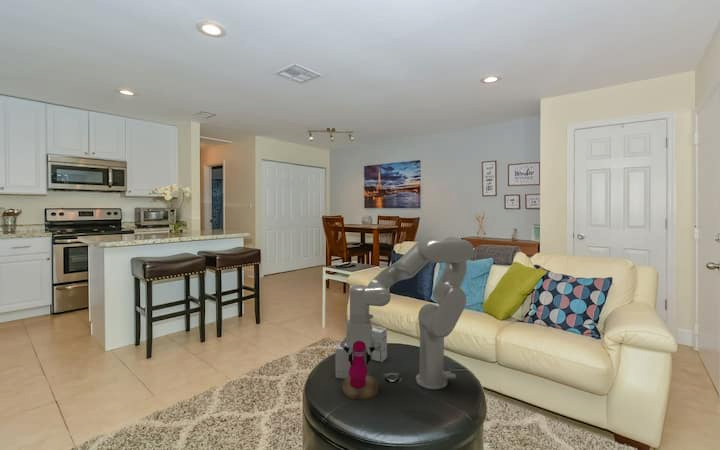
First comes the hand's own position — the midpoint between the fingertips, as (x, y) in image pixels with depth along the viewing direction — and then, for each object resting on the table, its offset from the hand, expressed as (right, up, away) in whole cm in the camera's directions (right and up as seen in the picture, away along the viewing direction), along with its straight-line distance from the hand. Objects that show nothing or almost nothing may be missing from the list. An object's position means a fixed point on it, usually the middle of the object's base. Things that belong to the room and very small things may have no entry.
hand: (359, 362), depth 139 cm
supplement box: (-6, -10, +13) cm, 17 cm away
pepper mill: (-1, -8, 0) cm, 8 cm away
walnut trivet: (0, -11, +1) cm, 11 cm away
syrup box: (+9, -9, +27) cm, 30 cm away
